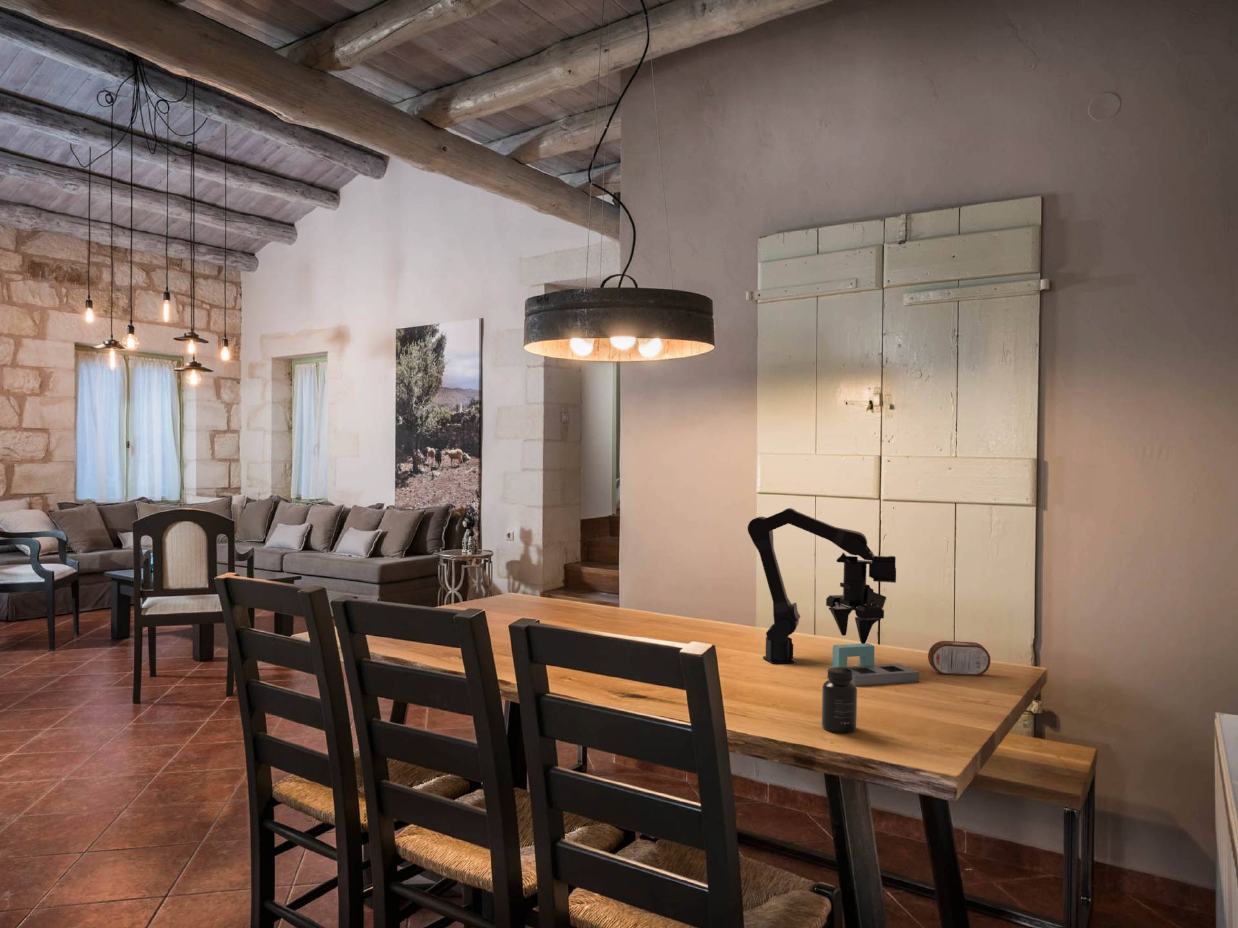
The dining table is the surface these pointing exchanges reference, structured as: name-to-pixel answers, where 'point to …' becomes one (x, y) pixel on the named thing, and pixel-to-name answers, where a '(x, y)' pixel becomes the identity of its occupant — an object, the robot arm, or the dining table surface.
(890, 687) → the dining table surface
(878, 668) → the plate with rectangular holes
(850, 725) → the supplement bottle
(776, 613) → the robot arm
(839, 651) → the teal u-shaped block
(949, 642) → the tin
